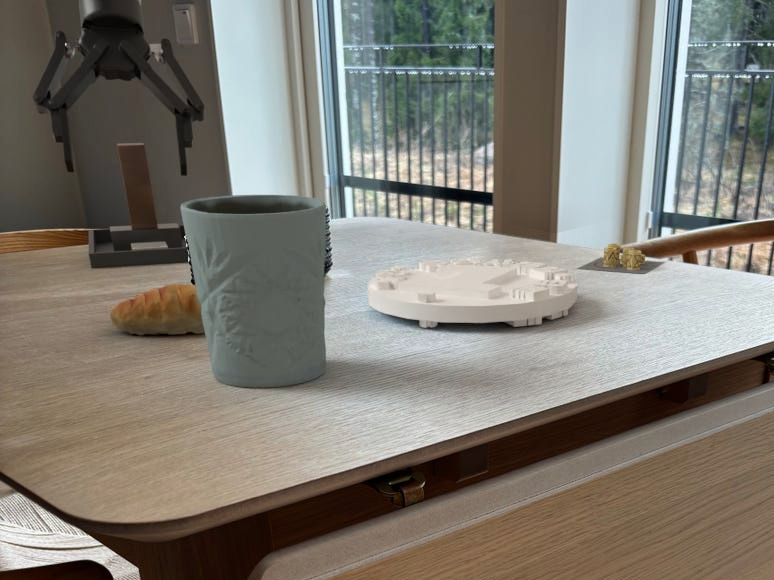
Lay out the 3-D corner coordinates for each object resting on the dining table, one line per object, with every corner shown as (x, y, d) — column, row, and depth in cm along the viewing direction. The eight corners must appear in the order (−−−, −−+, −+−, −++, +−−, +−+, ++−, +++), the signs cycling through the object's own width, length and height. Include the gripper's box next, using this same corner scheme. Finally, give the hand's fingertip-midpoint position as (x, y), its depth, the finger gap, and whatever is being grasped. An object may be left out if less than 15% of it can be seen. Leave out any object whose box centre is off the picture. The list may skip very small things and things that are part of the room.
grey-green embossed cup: (252, 350, 81) (233, 191, 74) (362, 362, 77) (351, 196, 71) (177, 383, 72) (148, 208, 66) (296, 397, 69) (277, 214, 63)
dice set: (637, 270, 110) (639, 252, 109) (595, 267, 112) (595, 249, 111) (651, 263, 114) (652, 245, 113) (609, 260, 116) (610, 243, 115)
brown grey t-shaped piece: (114, 253, 117) (94, 146, 111) (113, 248, 120) (94, 144, 115) (183, 249, 119) (167, 144, 114) (180, 244, 123) (164, 142, 117)
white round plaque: (326, 308, 94) (323, 276, 93) (471, 279, 106) (471, 251, 105) (472, 344, 82) (472, 308, 80) (617, 307, 94) (619, 275, 92)
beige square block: (132, 256, 115) (130, 243, 114) (167, 254, 116) (165, 241, 115) (134, 262, 112) (131, 248, 111) (170, 260, 113) (167, 246, 112)
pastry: (114, 341, 83) (104, 294, 82) (113, 324, 89) (104, 280, 87) (225, 332, 86) (219, 287, 84) (218, 316, 92) (212, 273, 90)
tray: (92, 248, 125) (88, 229, 124) (197, 242, 129) (195, 224, 128) (92, 275, 109) (88, 253, 108) (213, 267, 113) (210, 246, 112)
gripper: (-4, -27, 116) (13, 148, 115) (212, -9, 123) (230, 156, 122) (8, 16, 123) (25, 180, 123) (212, 30, 130) (228, 186, 130)
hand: (127, 168), depth 123 cm, fingers open, 13 cm apart
